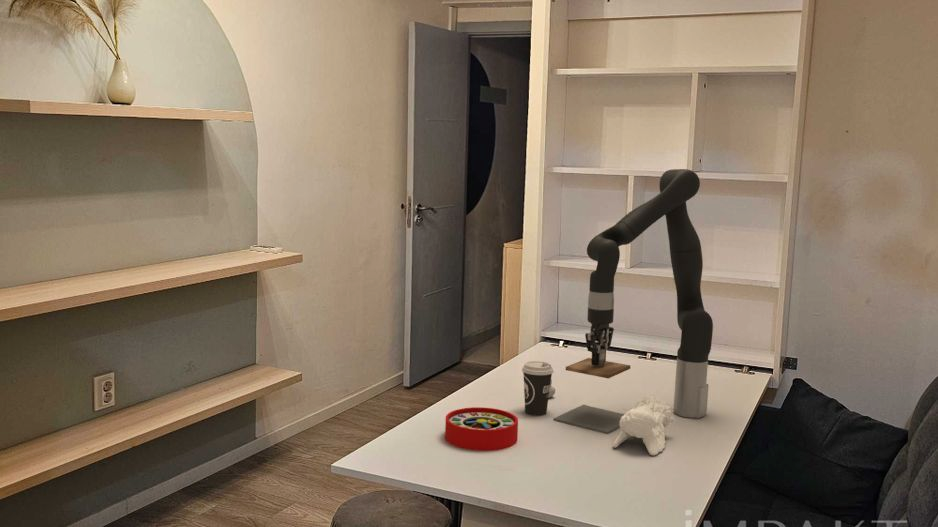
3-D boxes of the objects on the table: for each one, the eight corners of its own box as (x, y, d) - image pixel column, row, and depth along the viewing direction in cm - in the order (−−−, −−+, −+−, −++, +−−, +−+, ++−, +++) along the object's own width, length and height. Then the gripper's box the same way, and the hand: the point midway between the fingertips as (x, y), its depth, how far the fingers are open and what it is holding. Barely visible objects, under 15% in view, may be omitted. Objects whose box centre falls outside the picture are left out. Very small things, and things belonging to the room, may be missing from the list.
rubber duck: (535, 398, 278) (537, 374, 277) (540, 393, 284) (541, 369, 283) (552, 400, 276) (553, 376, 275) (556, 395, 283) (558, 371, 282)
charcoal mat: (635, 418, 261) (636, 417, 261) (607, 434, 246) (607, 431, 246) (583, 406, 271) (583, 404, 271) (553, 420, 257) (553, 418, 257)
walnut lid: (630, 368, 258) (631, 348, 257) (608, 378, 247) (609, 357, 246) (588, 360, 266) (589, 341, 265) (565, 370, 255) (566, 350, 254)
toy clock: (504, 405, 251) (528, 427, 233) (503, 424, 252) (527, 448, 233) (437, 409, 246) (456, 432, 227) (436, 429, 247) (456, 454, 228)
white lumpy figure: (680, 401, 244) (660, 412, 227) (675, 445, 245) (654, 459, 227) (635, 392, 250) (612, 402, 233) (630, 435, 251) (607, 448, 234)
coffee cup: (540, 419, 257) (542, 370, 255) (513, 412, 263) (515, 364, 261) (557, 412, 265) (559, 364, 263) (531, 405, 271) (533, 358, 269)
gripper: (600, 311, 246) (598, 370, 249) (623, 304, 257) (620, 361, 260) (577, 308, 250) (575, 366, 253) (600, 301, 262) (598, 357, 264)
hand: (598, 363), depth 256 cm, fingers closed on walnut lid, 3 cm apart
